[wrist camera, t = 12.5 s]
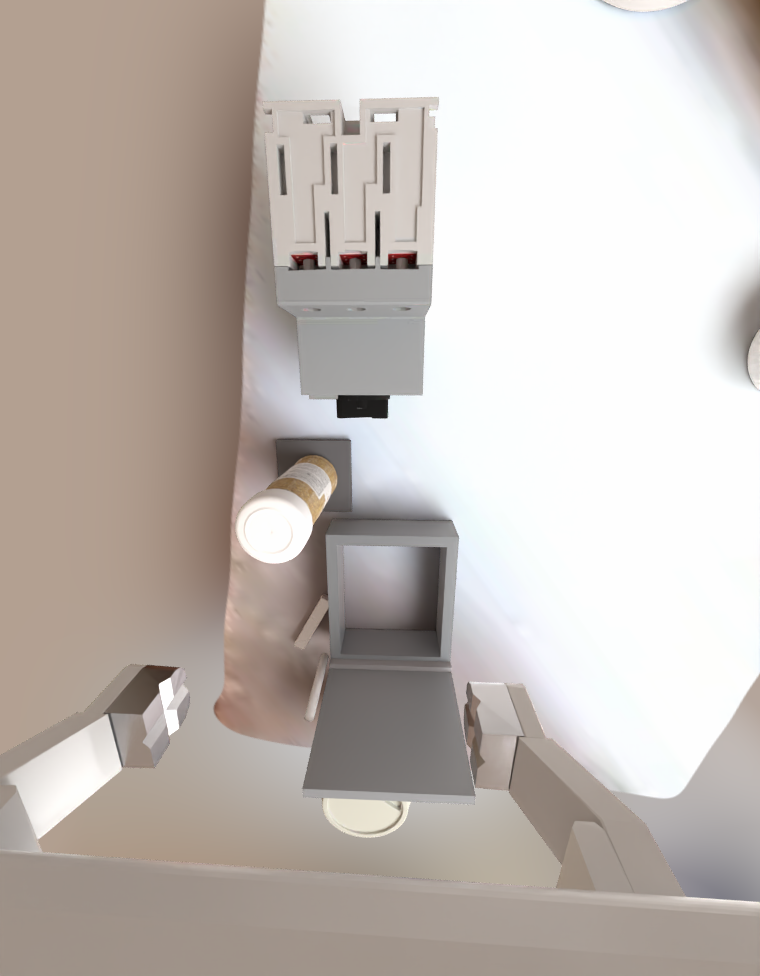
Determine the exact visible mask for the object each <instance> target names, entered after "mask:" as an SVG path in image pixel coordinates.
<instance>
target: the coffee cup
mask: <svg viewBox="0 0 760 976" xmlns="http://www.w3.org/2000/svg"><path fill="white" fill-rule="evenodd" d="M410 803H411V802H404V801H381V800H358V799H335V798H322V807H323V812H324V814H325V816H326V818H327V819H328V821H329V822H330V823H331V824H332V825H333V826H334V827H336V828H337V829H339V830H340V831H342V832H344V833H347V834H350V835H353V836H357V837H368V838H369V837H379V836H383V835H386V834H389V833H391V832H393V831H394V830H396V829H397V828H398V827H400V826H401V824H402V823H403V822H404V821H405V819H406V817H407V813H408V808H409V806H410Z"/></svg>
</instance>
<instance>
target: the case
mask: <svg viewBox="0 0 760 976" xmlns="http://www.w3.org/2000/svg"><path fill="white" fill-rule="evenodd" d="M458 543H459V536H458V534H457V531H456V529H455V527H454V524H453V522H452V521H435V520H375V519H332V521H331V524H330V526H329V528H328V530H327V533H326V558H327V582H328V606H329V630H330V653H331V659H330V664H329V667H330V668H329V673H328V677H327V682H326V686H325V691H324V695H323V700H322V704H321V709H320V713H319V718H318V722H317V726H316V731H315V735H314V740H313V744H312V749H311V753H310V758H309V762H308V767H307V772H306V775H305V780H304V784H303V797H312V798H335V799H358V800H381V801H404V802H428V803H451V804H475V792H474V786H473V782H472V776H471V771H470V766H469V761H468V756H467V751H466V745H465V740H464V735H463V730H462V725H461V720H460V715H459V710H458V705H457V699H456V694H455V689H454V684H453V679H452V674H451V663H450V658H451V644H452V630H453V615H454V601H455V586H456V572H457V558H458ZM343 545H356V546H409V547H441V549H440V568H439V586H438V604H437V623H436V631H417V630H380V629H345V592H344V556H343ZM328 658H329V656H328V654H326V653H323V654H321V657H320V661H319V664H318V668H317V672H316V676H315V679H314V683H313V687H312V691H311V694H310V698H309V702H308V706H307V709H306V713H305V720H306V721H313V720H314V717H315V713H316V708H317V704H318V700H319V696H320V691H321V687H322V683H323V679H324V675H325V670H326V666H327V662H328Z"/></svg>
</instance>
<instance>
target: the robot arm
mask: <svg viewBox="0 0 760 976" xmlns="http://www.w3.org/2000/svg"><path fill="white" fill-rule="evenodd" d="M603 1H605V2H606V3H608V4H610V5H613V6H615V7H618V8H621V9H625V10H629V11H637V12H649V11H658V10H663V9H667V8H670V7H673V6H676V5H679V4H681V3H683V2H686V1H688V0H603ZM186 678H187V677H186V673H185V669H183V668H180V667H168V666H155V665H137V664H130V665H128V666H126V667H125V668H124V669H123V670H122V671H121V672H120V673H119V674H118V675H117V676H116V677H115V678H114V680H113V681H112V682H111V683H110V684H109V685H108V686H107V687H106V688H105V689H104V690H103V691H102V692H101V693H100V694H99V696H98V697H97V698H96V699H95V700H94V701H93V702H92V703H91V704H90V705H89V706H88V707H87V709H86V710H85V711H84V712H80V713H79V712H77V713H75V714H73V715H71V716H70V717H68V718H66V719H64V720H62V721H61V722H59V723H57V724H55V725H53V726H52V727H50V728H48V729H46V730H45V731H43V732H41V733H39V734H37V735H35V736H34V737H32V738H30V739H28V740H26V741H25V742H23V743H21V744H19V745H17V746H16V747H14V748H12V749H10V750H8V751H7V752H5V753H3V754H1V755H0V976H760V902H750V901H736V900H721V899H707V898H693V897H686V896H685V894H684V893H683V891H682V889H681V887H680V885H679V884H678V882H677V880H676V878H675V876H674V875H673V873H672V871H671V869H670V867H669V865H668V864H667V862H666V860H665V858H664V856H663V854H662V853H661V851H660V849H659V847H658V845H657V844H656V842H655V840H654V838H653V836H652V835H651V833H650V831H649V829H648V827H647V826H646V824H645V823H644V822H643V821H642V820H641V819H640V818H639V817H638V816H636V815H635V814H634V813H633V812H632V811H631V810H630V809H629V808H628V807H627V806H625V805H624V804H623V803H622V802H621V801H620V800H619V799H618V798H617V797H616V796H615V795H614V794H612V793H611V792H610V791H609V790H608V789H607V788H606V787H605V786H604V785H603V784H602V783H600V782H599V781H598V780H597V779H596V778H595V777H594V776H593V775H592V774H591V773H589V772H588V771H587V770H586V769H585V768H584V767H583V766H582V765H581V764H580V763H579V762H577V761H576V760H575V759H574V758H573V757H572V756H571V755H570V754H569V753H568V752H567V751H565V750H564V749H563V748H562V747H561V746H560V745H559V744H558V743H557V742H556V741H555V740H553V739H550V738H546V735H545V733H544V730H543V728H542V726H541V723H540V721H539V718H538V716H537V714H536V711H535V709H534V706H533V704H532V702H531V699H530V697H529V694H528V692H527V690H526V687H525V686H524V685H523V684H516V683H504V684H503V683H490V682H468V684H467V690H466V694H467V699H468V702H467V703H466V704H465V707H464V729H465V737H466V742H467V745H468V746H469V747H470V748H471V756H470V764H471V769H472V774H473V779H474V784H475V787H476V788H484V789H496V790H506V791H509V793H510V795H511V796H512V798H513V799H514V800H515V802H516V803H517V804H518V806H519V807H520V809H521V810H522V811H523V813H524V814H525V815H526V817H527V818H528V820H529V821H530V822H531V824H532V825H533V826H534V828H535V829H536V831H537V832H538V833H539V835H540V836H541V837H542V839H543V840H544V841H545V843H546V844H547V846H548V847H549V848H550V849H551V851H552V852H553V854H554V855H555V857H556V858H557V859H558V861H559V862H560V863H561V865H562V867H561V872H560V875H559V879H558V882H557V886H556V888H548V887H533V886H520V885H506V884H491V883H477V882H463V881H462V882H461V881H448V880H433V879H419V878H405V877H391V876H376V875H362V874H345V873H332V872H318V871H304V870H290V869H274V868H260V867H245V866H232V865H217V864H203V863H188V862H174V861H160V860H145V859H130V858H117V857H103V856H88V855H73V854H60V853H44V852H42V849H41V847H40V844H39V842H38V839H39V838H41V837H42V836H43V835H44V834H45V833H47V832H48V831H49V830H50V829H51V828H53V826H55V825H56V824H57V823H59V822H60V821H61V820H62V819H63V818H65V817H66V816H67V815H68V814H69V813H70V812H72V811H73V810H74V809H75V808H77V807H78V806H79V805H80V804H81V803H82V802H84V801H85V800H86V799H87V798H89V796H91V795H92V794H93V793H95V792H96V791H97V790H98V789H99V788H101V787H102V786H103V785H104V784H105V783H107V782H108V781H109V780H110V779H111V778H113V777H114V776H115V775H116V774H117V773H118V772H120V771H121V770H122V767H128V768H129V767H130V768H155V767H156V765H157V764H158V762H159V760H160V759H161V757H162V755H163V754H164V752H165V751H166V749H167V747H168V746H169V744H170V739H169V735H170V734H171V733H173V732H174V731H176V730H177V729H178V728H180V726H181V724H182V723H183V721H184V719H185V717H186V714H187V711H188V708H189V703H190V695H189V690H188V689H187V688H186V687H185V686H184V685H183V683H184V681H185V680H186Z"/></svg>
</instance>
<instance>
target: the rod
mask: <svg viewBox="0 0 760 976" xmlns="http://www.w3.org/2000/svg"><path fill="white" fill-rule="evenodd" d="M328 608H329V606H328V596H327V595H325V594H322V596H321V598H320V599H319V601H318V603H317V604H316V606H315V608H314V610H313V611H312V613H311V615H310V617H309V618H308V620H307V622H306V623H305V625H304V627H303V629H302V630H301V632H300V634H299V636H298V637H297V639H296V641H295V644H294V646H295V647H298V648H300V649H302V650H304V648H305V647H306V645H307V643H308V642H309V640H310V638H311V637H312V635H313V633H314V632H315V630H316V628H317V626H318V625H319V623H320V621H321V620H322V618H323V616H324V615H325V613H326V611H327V610H328Z"/></svg>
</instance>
